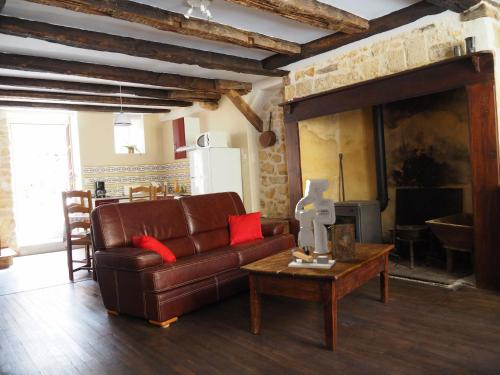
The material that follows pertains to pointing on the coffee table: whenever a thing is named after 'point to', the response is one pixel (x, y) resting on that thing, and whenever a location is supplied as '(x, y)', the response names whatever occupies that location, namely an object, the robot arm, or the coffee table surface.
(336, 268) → the coffee table surface
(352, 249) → the book
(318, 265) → the board
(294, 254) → the tan wooden bar
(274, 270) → the coffee table surface
